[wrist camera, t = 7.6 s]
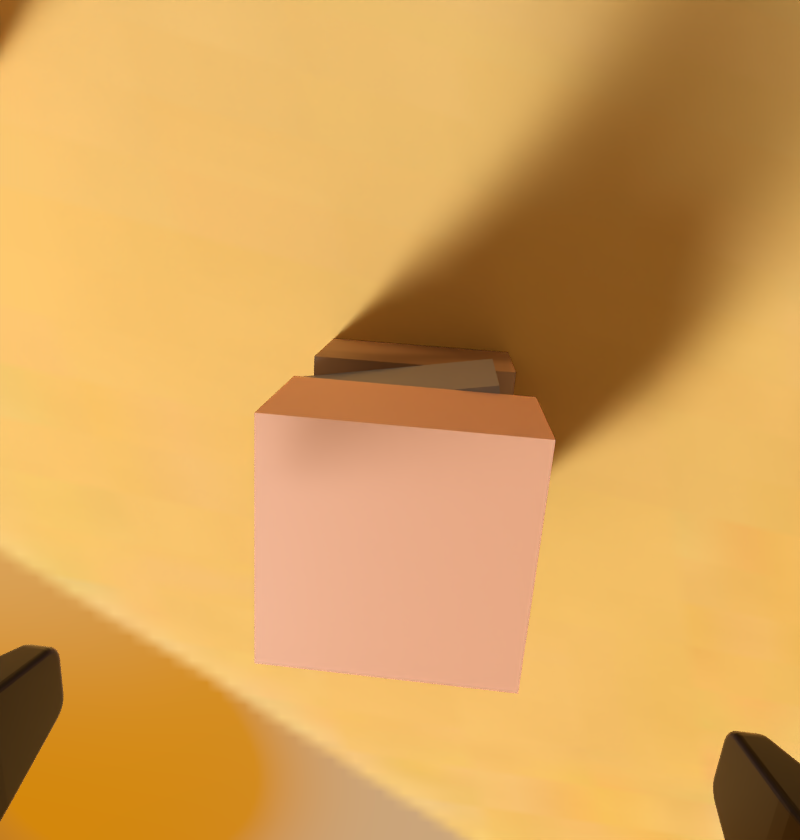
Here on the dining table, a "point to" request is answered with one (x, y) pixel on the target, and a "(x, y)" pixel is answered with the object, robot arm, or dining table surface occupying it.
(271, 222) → the dining table surface
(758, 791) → the robot arm
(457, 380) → the gray block
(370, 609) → the terracotta block
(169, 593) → the dining table surface
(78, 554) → the dining table surface
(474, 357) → the walnut block
